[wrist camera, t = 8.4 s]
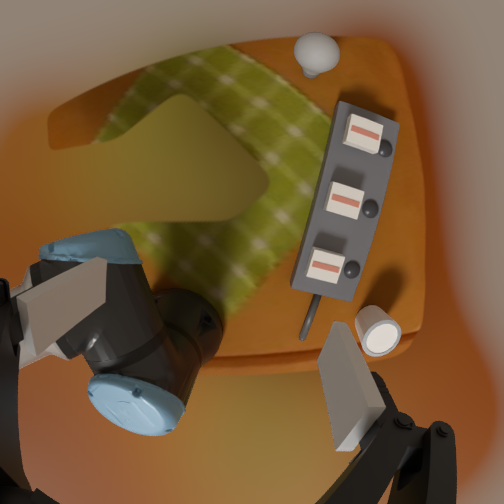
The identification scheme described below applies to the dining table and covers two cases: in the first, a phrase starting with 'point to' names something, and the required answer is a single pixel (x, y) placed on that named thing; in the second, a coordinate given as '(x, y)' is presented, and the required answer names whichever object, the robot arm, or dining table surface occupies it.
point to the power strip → (338, 226)
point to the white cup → (377, 330)
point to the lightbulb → (316, 53)
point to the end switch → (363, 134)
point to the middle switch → (343, 200)
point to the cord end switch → (324, 265)
